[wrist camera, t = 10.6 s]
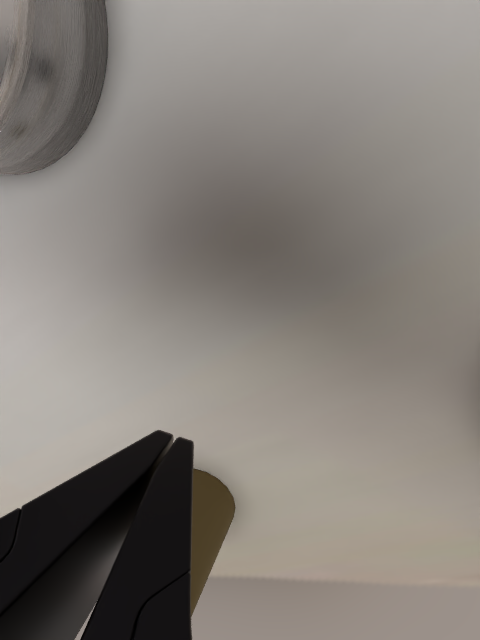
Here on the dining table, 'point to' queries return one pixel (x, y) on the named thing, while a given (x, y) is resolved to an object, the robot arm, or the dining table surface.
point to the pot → (56, 85)
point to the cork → (207, 527)
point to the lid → (14, 51)
